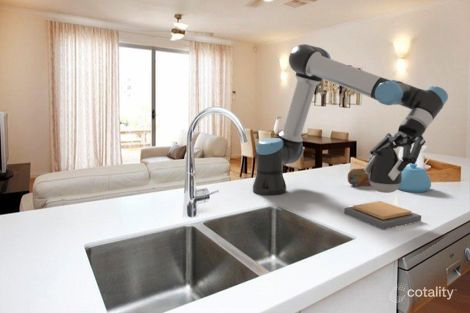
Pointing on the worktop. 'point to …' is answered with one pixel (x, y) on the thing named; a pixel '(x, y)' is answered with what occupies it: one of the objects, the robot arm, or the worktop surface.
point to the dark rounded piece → (384, 170)
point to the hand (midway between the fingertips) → (378, 174)
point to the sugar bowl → (415, 179)
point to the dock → (379, 222)
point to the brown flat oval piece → (358, 177)
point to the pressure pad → (382, 210)
